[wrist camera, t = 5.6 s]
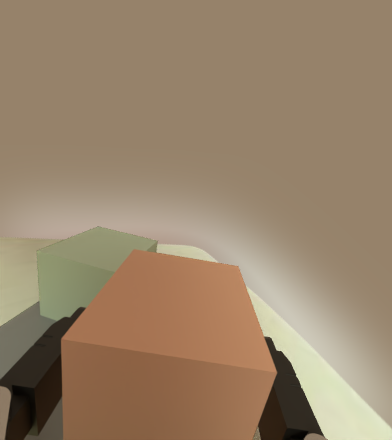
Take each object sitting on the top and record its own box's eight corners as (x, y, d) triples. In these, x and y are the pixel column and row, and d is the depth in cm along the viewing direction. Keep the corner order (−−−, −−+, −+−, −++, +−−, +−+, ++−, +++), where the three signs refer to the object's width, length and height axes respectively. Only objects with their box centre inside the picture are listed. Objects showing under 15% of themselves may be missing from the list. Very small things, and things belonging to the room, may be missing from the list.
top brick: (66, 557, 7) (60, 338, 4) (120, 399, 12) (133, 249, 9) (202, 575, 7) (276, 372, 5) (202, 411, 12) (238, 266, 9)
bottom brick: (40, 315, 17) (36, 250, 15) (96, 274, 23) (98, 226, 22) (115, 340, 16) (119, 273, 14) (151, 289, 22) (157, 240, 21)
